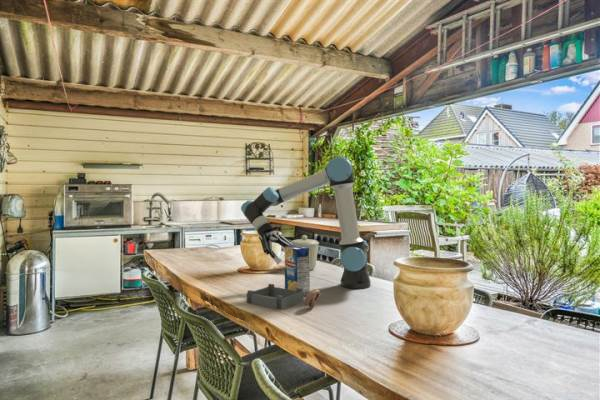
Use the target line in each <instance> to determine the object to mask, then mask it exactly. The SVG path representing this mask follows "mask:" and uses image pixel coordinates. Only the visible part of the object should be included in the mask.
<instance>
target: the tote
mask: <svg viewBox="0 0 600 400" xmlns="http://www.w3.org/2000/svg"><path fill="white" fill-rule="evenodd" d="M304 300H305V297H304V292H303V289H301V288H297V289H296V290H290V289H285V287H284V288H283V287H277V286H275V284H274V283H269V284H268V286H266V287H265V286H264V287H262V288H260V289H257V290H247V293H246V304H252V305H257V306H260V307H261V306H262V307H268V308H273V309H279V310H285V309H288V308H289V307H292V306H294V305H296V304H299V303H301V302H304Z"/></svg>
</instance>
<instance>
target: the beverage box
mask: <svg viewBox="0 0 600 400" xmlns="http://www.w3.org/2000/svg"><path fill="white" fill-rule="evenodd" d="M310 271H311V270H310V248H307V247H302V246H286V247H285V248H284V289H290V290H296V289H297V288H301V289H303V292H304V298H305V297H306V295H307V293H308V292H310V291H311V284H310V283H311V281H310V279H311V278H310Z"/></svg>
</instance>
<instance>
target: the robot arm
mask: <svg viewBox="0 0 600 400" xmlns="http://www.w3.org/2000/svg"><path fill="white" fill-rule="evenodd" d="M354 172H355V171H354V166H353V163H352V162H351V160H350V159H348V158H347V157H345V156H342V155H340V156H335V157H333V158H332V159H330V160H329V162H328V163H327V165H326V166H325V167H324V168H323V169H322V170H321V171H318V172H316V173H314V174H311V175H308V176H306V177H304V178H301V179H299V180H297V181H295V182H292V183H289V184H287V185H285V186H282V187H280V188H276V189H274V188H273V187H271V186H268V187H267V188H265V189H264V190H263V191H262V192H261V193H260V194H259V195H258V196H257V197H256V198H255V199H254V200H252V199H248V200H246V201H245V202H243V204H241V206H240V210H241V212H242V214H243V216H244V217H245V218H246V219H247V220H248V222H249V223H250V225H251V226H252V227H253V228H254V230H255V231H256V232H257V234H258V235H259V237H258V240H259V241H260V243H261V246H262V250H263V253H264V254H265V255H267V256H268V255H269V256H270V257H271V258H272V259H273V261H274V262H275V263H276V265H277V266H278V265H280V264H281V262H282V259H281V258H280V256H279V255H278V253H277V252H276V251H275V250H274V249H273V244H277V245H278V246H281V247H283V248H284V249H285V247H286V246H292V243H290V242H291V241H290V240H288V239H287V238H285V237H284V236H283V235H282V234H281V233H280V232H279V231H276V233H275V232H274V226H272V224H271V223H270V222H269V220H268V219H267V218H266V217H265V215H264V213H265V211H267V210H268V209H269V208H270V207H276V206H279V205H280V204H282V203H285V202H287V201H290V200H292V199H294V198H297V197H300V196H302V195H305V194H307V193H310V192H312V191H314V190H318V189H320V188H322V187H325V186H328V185H329V186H330V187H329V188H331V189H332V190H333V191H334V192H333V193H334V197H335V204H336V211H337V212H336V213H337V217H338V224H339V230H340V235H341V236H340V237H341V240H340V241H339V243H338V244H339V251H340V258H339V261H340V263H341V265H342V267H343V272H342V275H341V279H340V286H341V287H342V288H347V289H355V290H357V289H366V288H370V287H371V286H372V284H371V279H370V276H369V273H368V272H369V271H368V242H367V241H366V240H364V239H363V238H361V236H360V231H359V225H358V224H359V223H358V219H357V217H358V216H357V212H356V211H357V210H356V204H355V198H354V191H353V190H354V189H353V186H355V178H354ZM272 243H273V244H272Z"/></svg>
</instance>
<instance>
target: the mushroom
mask: <svg viewBox="0 0 600 400" xmlns="http://www.w3.org/2000/svg"><path fill="white" fill-rule="evenodd" d="M320 294H321V291H320V290H319V289H317V288H315V289H310V292H308V293H307V295H306V297H304V301H303V304H304V305H305V306H308V307H309V309H310V310H313V308H314V307H315V305H316V302H317V300H318V298H319V297H320Z"/></svg>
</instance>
